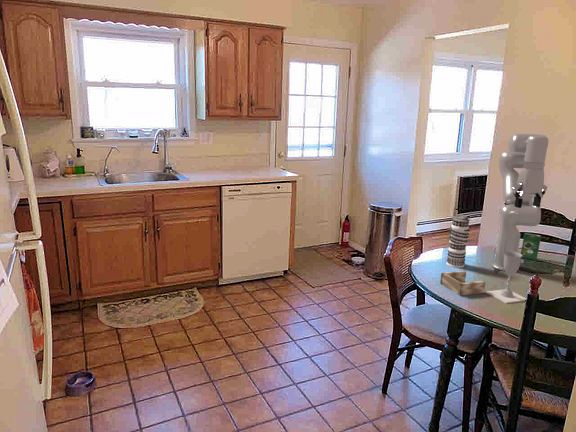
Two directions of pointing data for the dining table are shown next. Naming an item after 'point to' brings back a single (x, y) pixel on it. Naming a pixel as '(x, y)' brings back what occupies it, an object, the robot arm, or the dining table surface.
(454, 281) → the cubby
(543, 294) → the dining table surface
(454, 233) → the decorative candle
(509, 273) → the chalice
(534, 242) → the coffee box
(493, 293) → the mat
